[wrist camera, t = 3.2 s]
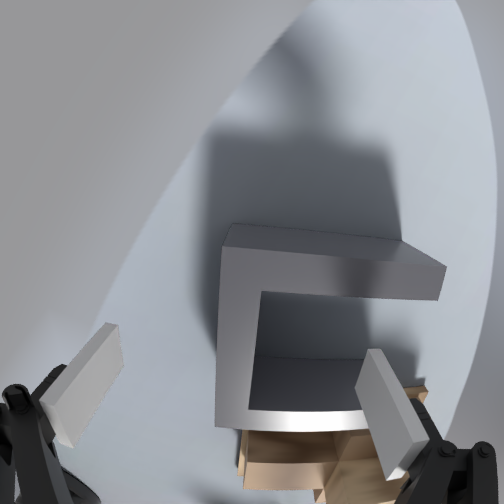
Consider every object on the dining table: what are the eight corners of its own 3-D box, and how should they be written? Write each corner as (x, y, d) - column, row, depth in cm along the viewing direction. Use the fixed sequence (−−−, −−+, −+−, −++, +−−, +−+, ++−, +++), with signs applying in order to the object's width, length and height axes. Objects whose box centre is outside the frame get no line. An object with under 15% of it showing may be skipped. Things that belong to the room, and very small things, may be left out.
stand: (237, 469, 27) (232, 543, 17) (246, 389, 23) (241, 489, 14) (380, 463, 27) (401, 527, 17) (424, 385, 23) (469, 457, 14)
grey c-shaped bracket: (223, 373, 23) (214, 426, 17) (232, 223, 20) (221, 246, 14) (365, 377, 23) (387, 426, 17) (402, 240, 20) (446, 266, 14)
